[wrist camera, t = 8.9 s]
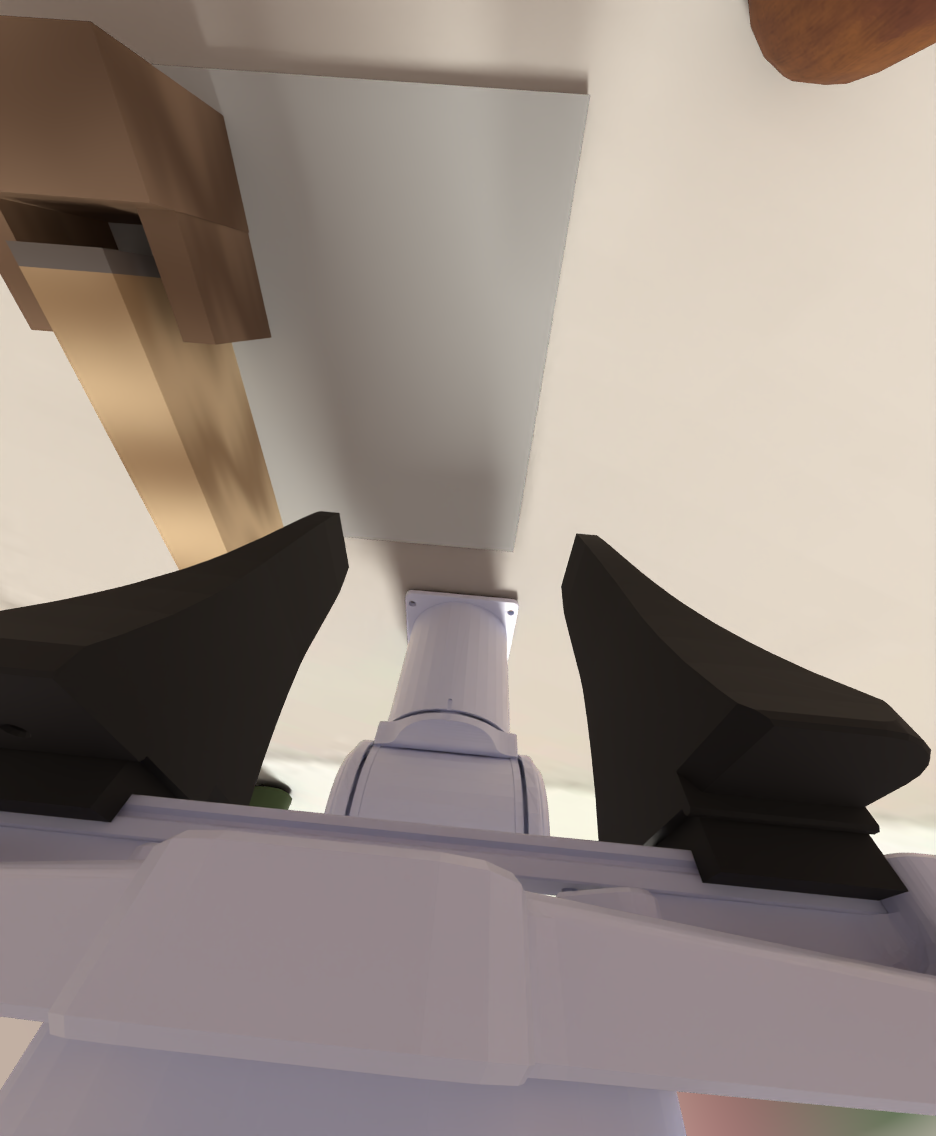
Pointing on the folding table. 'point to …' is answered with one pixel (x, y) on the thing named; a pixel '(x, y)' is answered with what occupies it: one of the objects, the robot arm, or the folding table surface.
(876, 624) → the folding table surface
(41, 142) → the bracket
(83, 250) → the rail
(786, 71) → the wooden figurine
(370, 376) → the mat
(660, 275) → the folding table surface
